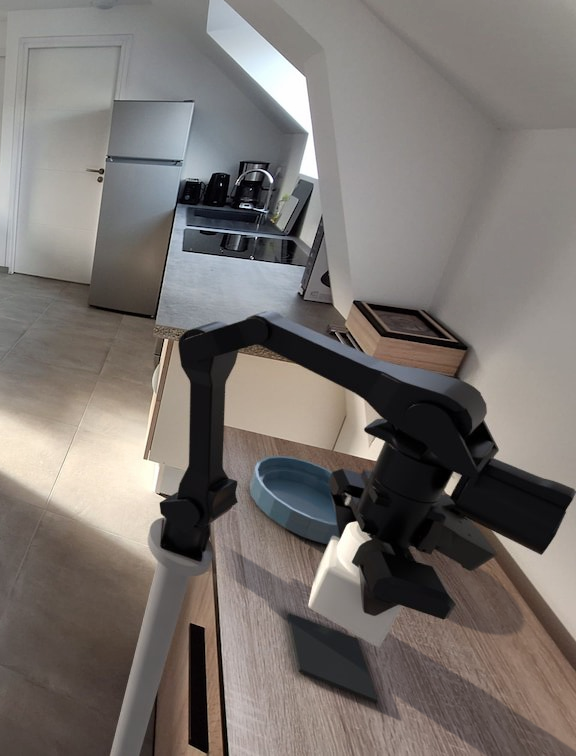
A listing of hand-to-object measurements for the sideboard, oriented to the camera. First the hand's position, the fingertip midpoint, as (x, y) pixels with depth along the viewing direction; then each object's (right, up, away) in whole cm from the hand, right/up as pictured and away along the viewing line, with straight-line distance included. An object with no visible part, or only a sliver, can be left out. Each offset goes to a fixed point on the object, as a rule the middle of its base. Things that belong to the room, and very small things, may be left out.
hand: (357, 583), depth 56 cm
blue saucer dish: (+13, -3, +27) cm, 31 cm away
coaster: (-1, -12, +3) cm, 12 cm away
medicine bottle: (0, -4, +2) cm, 5 cm away
